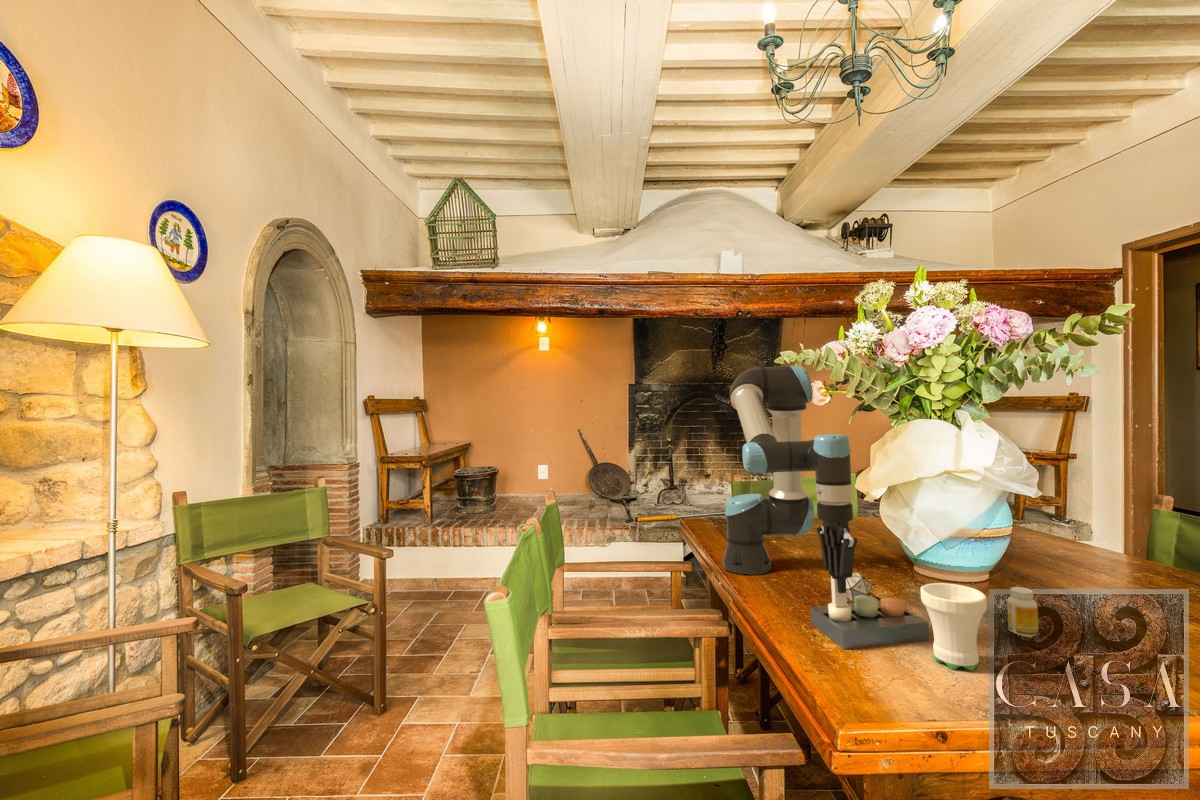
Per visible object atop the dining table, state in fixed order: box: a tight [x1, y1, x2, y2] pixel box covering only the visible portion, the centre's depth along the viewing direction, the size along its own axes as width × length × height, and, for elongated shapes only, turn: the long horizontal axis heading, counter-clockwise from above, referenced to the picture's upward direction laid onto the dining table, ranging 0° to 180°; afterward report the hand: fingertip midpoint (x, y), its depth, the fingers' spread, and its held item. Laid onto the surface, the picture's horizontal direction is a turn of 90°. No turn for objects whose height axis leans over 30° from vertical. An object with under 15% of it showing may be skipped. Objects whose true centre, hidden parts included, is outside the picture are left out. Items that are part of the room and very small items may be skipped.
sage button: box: [854, 595, 879, 617], centre depth 125 cm, size 5×5×3 cm
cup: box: [919, 582, 988, 672], centre depth 109 cm, size 11×11×14 cm
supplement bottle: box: [1006, 586, 1040, 638], centre depth 121 cm, size 5×5×10 cm
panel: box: [809, 599, 930, 650], centre depth 125 cm, size 14×20×4 cm
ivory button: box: [827, 602, 852, 623], centre depth 124 cm, size 5×5×3 cm
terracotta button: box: [880, 596, 906, 617], centre depth 126 cm, size 5×5×3 cm
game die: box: [846, 569, 876, 603], centre depth 143 cm, size 9×8×10 cm
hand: (839, 605), depth 124 cm, fingers closed
